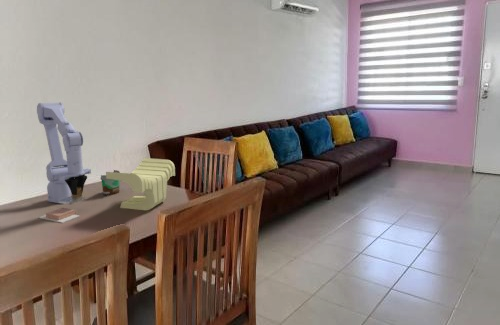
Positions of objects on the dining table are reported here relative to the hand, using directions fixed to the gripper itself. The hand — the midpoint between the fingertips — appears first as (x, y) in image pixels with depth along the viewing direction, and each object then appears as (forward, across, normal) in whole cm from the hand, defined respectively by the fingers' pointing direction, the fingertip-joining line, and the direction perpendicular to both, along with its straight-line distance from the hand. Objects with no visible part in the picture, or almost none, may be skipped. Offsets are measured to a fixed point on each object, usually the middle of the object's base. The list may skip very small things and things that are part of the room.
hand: (77, 193), depth 164 cm
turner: (+2, -3, 0) cm, 4 cm away
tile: (+6, -5, 0) cm, 8 cm away
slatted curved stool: (+8, +18, -20) cm, 28 cm away
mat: (+7, -10, 0) cm, 12 cm away
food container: (+7, +27, +5) cm, 28 cm away
